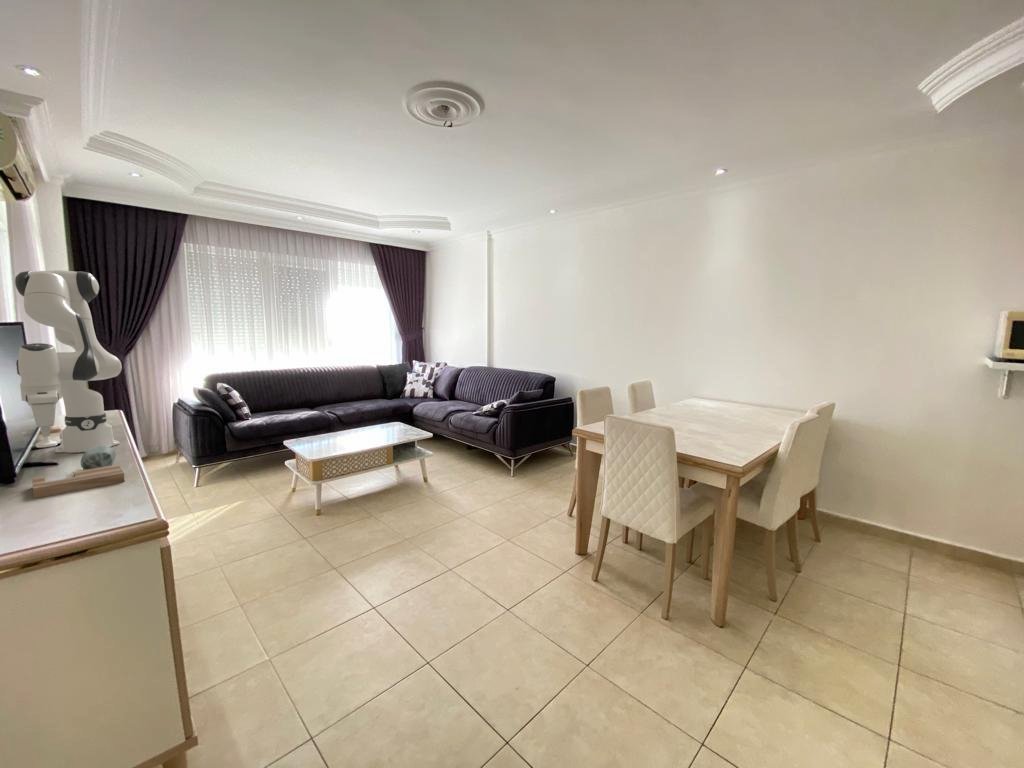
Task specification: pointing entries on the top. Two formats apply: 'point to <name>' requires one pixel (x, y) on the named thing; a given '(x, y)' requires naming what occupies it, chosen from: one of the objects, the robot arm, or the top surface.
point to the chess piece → (46, 442)
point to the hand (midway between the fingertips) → (45, 435)
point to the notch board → (78, 481)
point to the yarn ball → (98, 457)
